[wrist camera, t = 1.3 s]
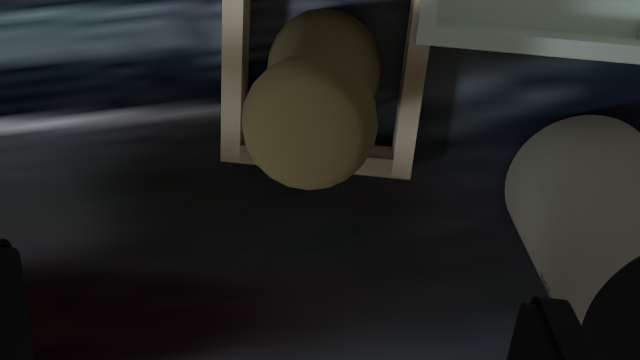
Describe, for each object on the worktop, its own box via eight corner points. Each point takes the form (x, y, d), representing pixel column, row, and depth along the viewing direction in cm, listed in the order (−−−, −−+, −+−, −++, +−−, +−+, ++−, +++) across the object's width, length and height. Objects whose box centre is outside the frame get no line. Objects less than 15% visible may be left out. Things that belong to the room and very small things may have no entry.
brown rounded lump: (244, 53, 32) (187, 117, 22) (338, -17, 30) (325, 17, 20) (312, 143, 34) (289, 241, 24) (405, 81, 32) (423, 158, 22)
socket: (407, 165, 34) (410, 179, 32) (228, 148, 34) (220, 161, 32) (435, -25, 30) (439, -21, 28) (231, -42, 30) (222, -40, 28)
